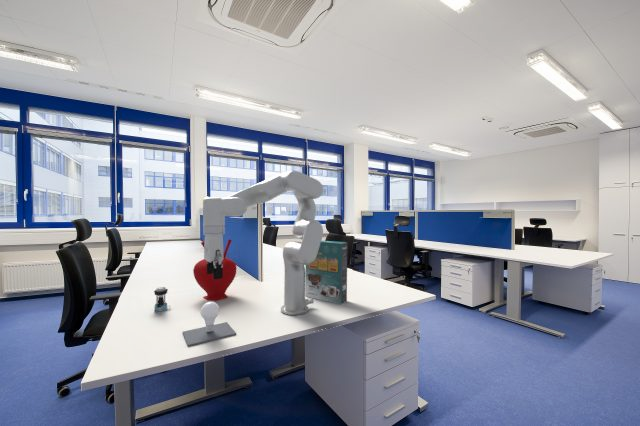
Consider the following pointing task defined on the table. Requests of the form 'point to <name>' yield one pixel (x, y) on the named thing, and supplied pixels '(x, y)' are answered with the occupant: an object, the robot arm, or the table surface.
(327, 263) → the cake mix box
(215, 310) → the lightbulb
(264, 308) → the table surface
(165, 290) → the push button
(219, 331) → the desk mat
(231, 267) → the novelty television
